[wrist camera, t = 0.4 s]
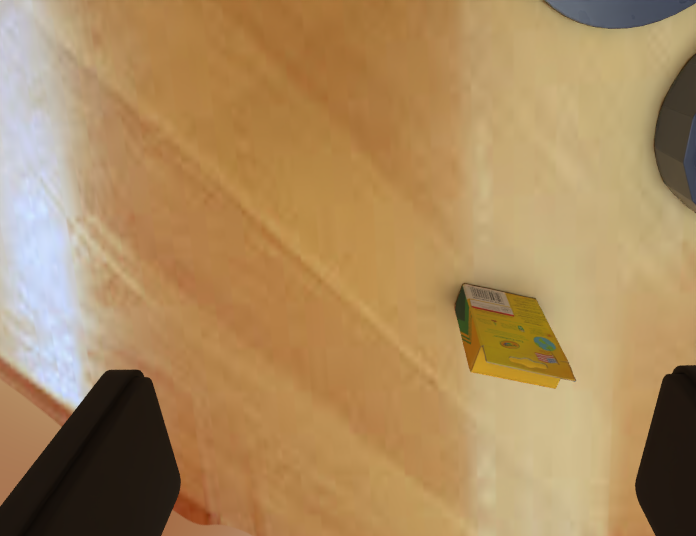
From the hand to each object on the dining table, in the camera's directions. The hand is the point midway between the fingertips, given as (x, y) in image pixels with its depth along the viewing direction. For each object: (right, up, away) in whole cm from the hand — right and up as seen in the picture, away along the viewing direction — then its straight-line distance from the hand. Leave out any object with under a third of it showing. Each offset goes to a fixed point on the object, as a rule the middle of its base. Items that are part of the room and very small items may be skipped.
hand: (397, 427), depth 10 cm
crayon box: (+13, 0, +40) cm, 42 cm away
